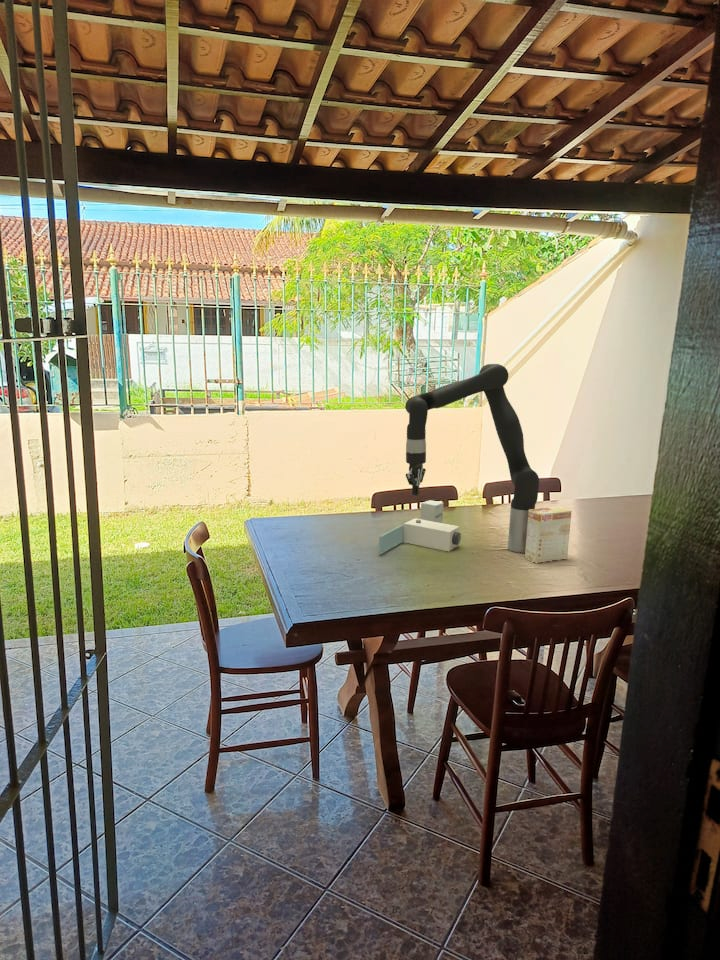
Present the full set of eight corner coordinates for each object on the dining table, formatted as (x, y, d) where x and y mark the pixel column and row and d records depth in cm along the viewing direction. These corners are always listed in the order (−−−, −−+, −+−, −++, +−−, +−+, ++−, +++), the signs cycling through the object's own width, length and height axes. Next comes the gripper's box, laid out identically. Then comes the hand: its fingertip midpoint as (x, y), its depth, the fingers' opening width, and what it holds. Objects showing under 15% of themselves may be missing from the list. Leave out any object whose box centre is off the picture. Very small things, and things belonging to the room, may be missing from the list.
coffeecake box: (555, 553, 244) (560, 505, 240) (567, 559, 238) (572, 510, 234) (523, 557, 239) (527, 508, 235) (535, 564, 233) (539, 513, 228)
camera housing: (461, 546, 251) (463, 525, 249) (452, 552, 243) (453, 530, 241) (414, 536, 262) (415, 516, 260) (403, 542, 255) (404, 521, 253)
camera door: (381, 554, 238) (382, 536, 236) (378, 553, 238) (379, 535, 237) (404, 541, 254) (404, 524, 252) (401, 540, 255) (402, 523, 253)
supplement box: (434, 534, 266) (435, 505, 263) (419, 530, 270) (420, 502, 268) (442, 530, 272) (444, 502, 269) (428, 527, 276) (429, 499, 273)
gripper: (414, 447, 243) (414, 490, 247) (399, 452, 232) (398, 497, 236) (432, 448, 239) (431, 492, 243) (417, 454, 228) (416, 499, 232)
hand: (415, 494), depth 239 cm, fingers closed
